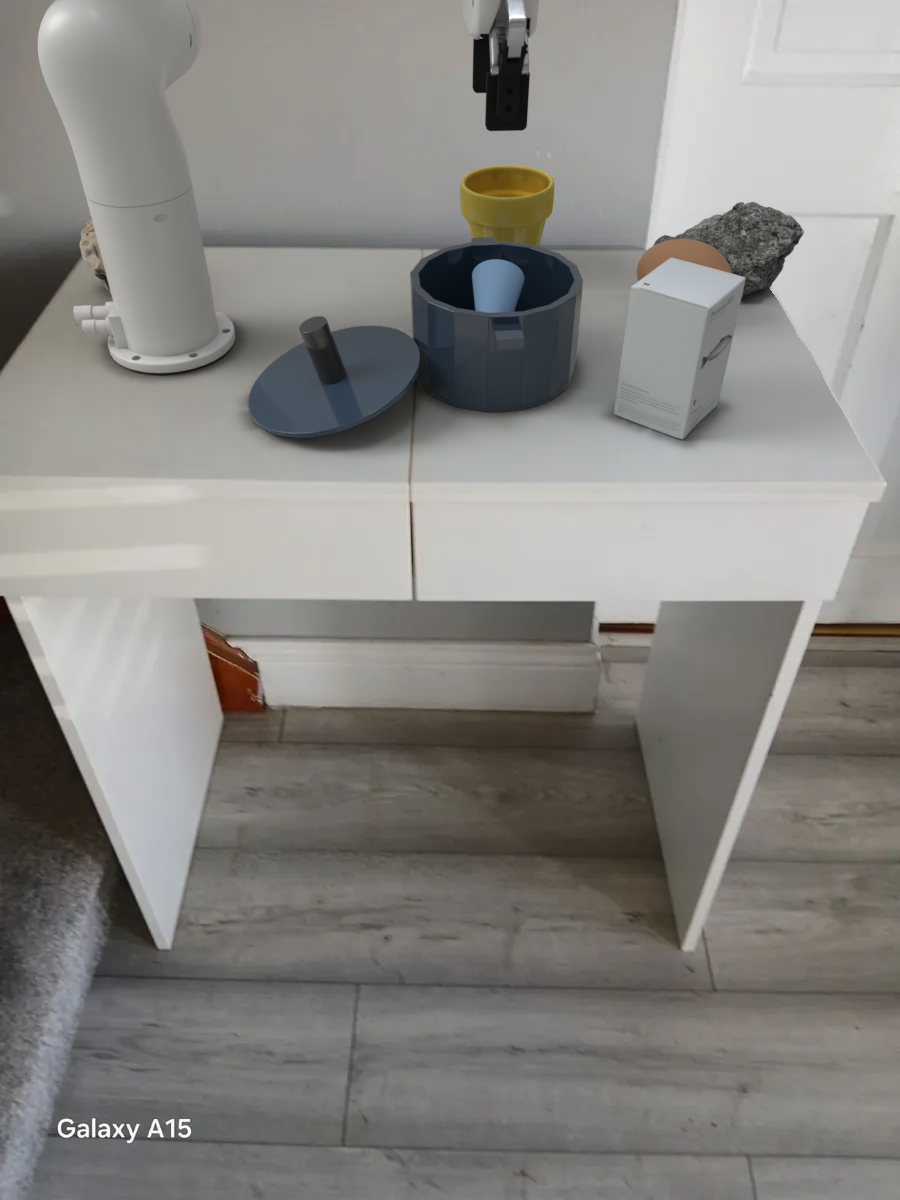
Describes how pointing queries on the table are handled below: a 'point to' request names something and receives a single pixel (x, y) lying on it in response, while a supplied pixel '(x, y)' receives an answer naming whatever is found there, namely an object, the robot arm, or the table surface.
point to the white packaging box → (677, 345)
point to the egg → (681, 255)
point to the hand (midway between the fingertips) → (498, 109)
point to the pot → (495, 328)
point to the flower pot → (507, 202)
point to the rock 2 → (749, 241)
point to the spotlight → (496, 286)
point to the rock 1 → (93, 252)
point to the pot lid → (334, 379)
